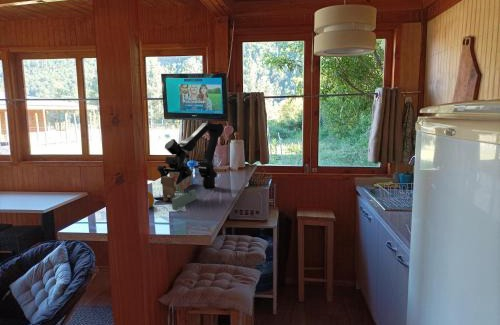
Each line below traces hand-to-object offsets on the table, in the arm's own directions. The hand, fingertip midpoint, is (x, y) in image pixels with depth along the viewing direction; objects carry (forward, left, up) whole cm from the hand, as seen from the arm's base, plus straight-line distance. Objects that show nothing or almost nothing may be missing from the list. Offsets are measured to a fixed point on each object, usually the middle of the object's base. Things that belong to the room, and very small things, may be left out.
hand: (168, 184), depth 192 cm
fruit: (+14, +10, -9) cm, 20 cm away
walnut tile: (0, +1, -9) cm, 9 cm away
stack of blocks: (-11, -29, -9) cm, 32 cm away
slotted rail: (-6, +12, -9) cm, 16 cm away
